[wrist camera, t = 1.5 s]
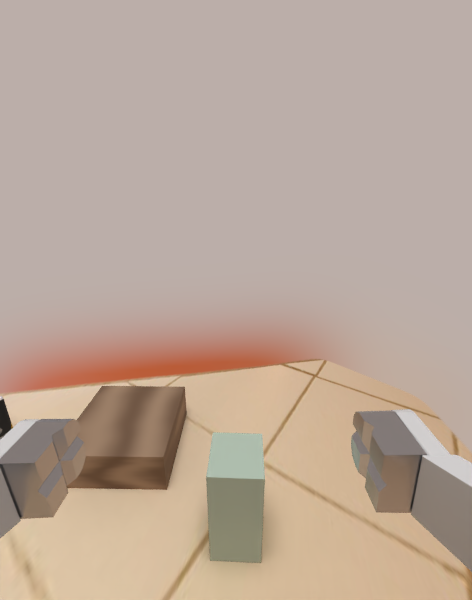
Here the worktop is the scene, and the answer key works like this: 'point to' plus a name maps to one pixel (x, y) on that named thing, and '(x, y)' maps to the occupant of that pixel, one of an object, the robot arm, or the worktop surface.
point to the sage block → (235, 497)
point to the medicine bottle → (4, 419)
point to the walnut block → (131, 437)
